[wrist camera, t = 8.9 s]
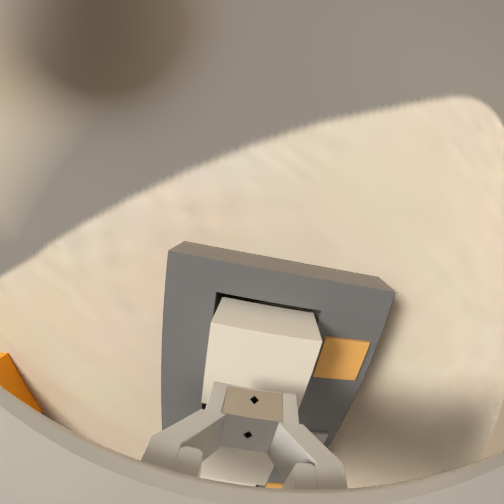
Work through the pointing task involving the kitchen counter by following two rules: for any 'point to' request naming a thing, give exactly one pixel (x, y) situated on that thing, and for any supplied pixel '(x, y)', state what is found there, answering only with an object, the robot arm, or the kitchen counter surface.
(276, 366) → the near button
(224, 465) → the middle button
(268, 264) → the button panel
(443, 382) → the kitchen counter surface
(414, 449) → the kitchen counter surface
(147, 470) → the robot arm
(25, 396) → the orange juice
